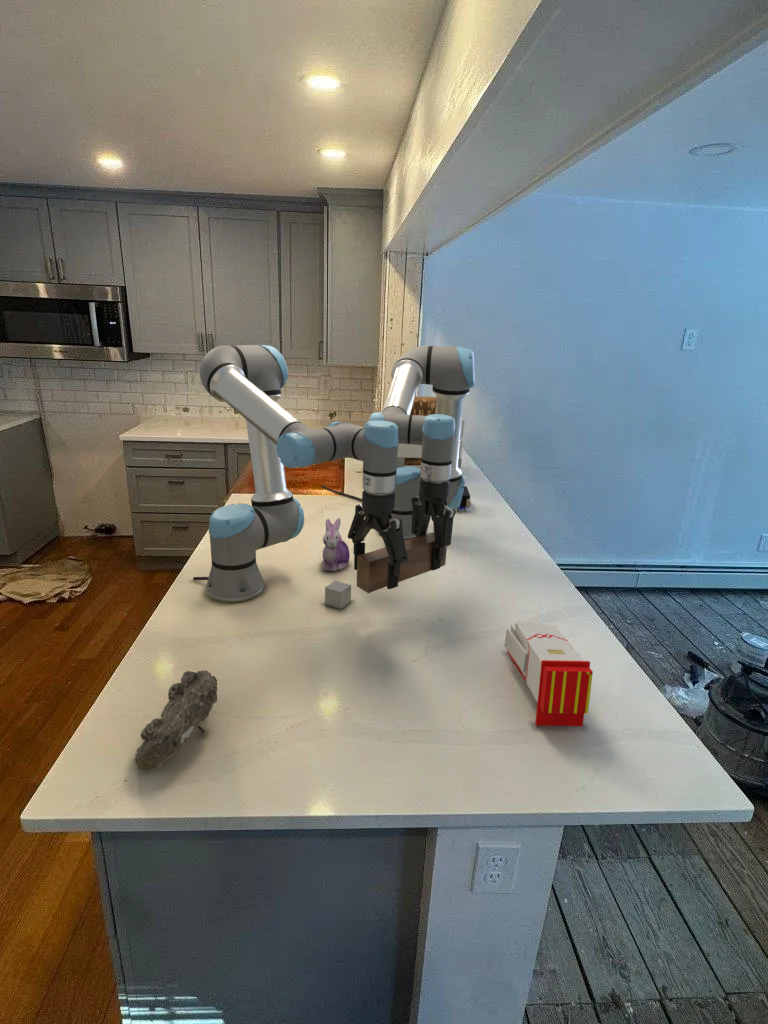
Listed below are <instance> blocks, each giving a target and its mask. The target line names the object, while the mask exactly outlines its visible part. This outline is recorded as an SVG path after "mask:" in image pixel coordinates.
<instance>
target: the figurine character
mask: <svg viewBox="0 0 768 1024" xmlns="http://www.w3.org/2000/svg"><path fill="white" fill-rule="evenodd" d="M471 501H472V500H471V494H470V491H469V488H468V486H467V485H464V490H463V495H462V499H461V503H460V506H459V507H458V508H457V509H456V512H460V510H463V511H464V513H466V512H467V509H470V508H471V505H472V504H471ZM466 508H467V509H466Z"/></svg>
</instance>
